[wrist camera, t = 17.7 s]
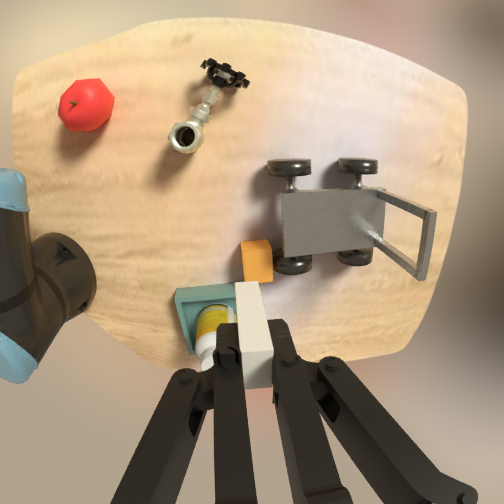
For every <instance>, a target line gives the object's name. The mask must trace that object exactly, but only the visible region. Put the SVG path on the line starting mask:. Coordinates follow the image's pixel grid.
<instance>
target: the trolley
mask: <svg viewBox="0 0 504 504" xmlns="http://www.w3.org/2000/svg"><path fill="white" fill-rule="evenodd" d="M267 165H268V175H269V176H278V177H286V187H287V188H285V191H284V192H280V197H281V219H282V246H283V248H281V249H279V250H276V251H275V252H274V253H273V268H274V270H275V271H277V272H278V273H281V274H285V275H299V274H303V273H306V272H308V271H309V270H310V269H311V267H312V254H320V253H329V252H337V259H338V260H339V261H340V262H341V263H343V264H346V265H350V266H364V265H368V264H370V263H371V262H372V256H373V247H377V248H379V249H380V250H381V251H382V252H384V253H385V254H386V255H387V256H389V257H390V258H391V259H393V260H394V261H395V262H396V263H397V264H399V265H400V266H401V267H402V268H404V269H405V270H406V271H407V272H408V273H410V274H411V275H412V276H413V277H414V278H416V279H417V280H418V281H424V280H426V276H427V271H428V267H429V262H430V256H431V251H432V245H433V239H434V232H435V224H436V216H437V212H436V211H434V210H431V209H429V208H427V207H424V206H422V205H420V204H417V203H415V202H413V201H410V200H408V199H405V198H403V197H400V196H398V195H395V194H393V193H390V192H387V191H386V189H385V188H382V187H371V188H370V187H367V186H364V185H362V174H377V173H378V160H375V159H366V158H339V172H343V173H351V174H355V185H354V188H338V189H316V190H298V189H297V188H294V176H305V175H310V174H311V160H310V159H276V160H269V161H267ZM385 201H386V202H388V203H390V204H392V205H395V206H397V207H399V208H401V209H403V210H405V211H408V212H410V213H412V214H414V215H416V216H418V217H420V218H422V219H423V226H422V234H421V241H420V248H419V254H418V260H417V263H415V262H414V261H413V260H411V259H410V258H408V257H407V256H406V255H404V254H403V253H402V252H400V251H399V250H398V249H396V248H395V247H393V246H392V245H391V244H389V243H388V242H386V241H385V240H383V230H384V217H385Z"/></svg>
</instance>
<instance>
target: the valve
mask: <svg viewBox="0 0 504 504" xmlns="http://www.w3.org/2000/svg"><path fill="white" fill-rule="evenodd" d="M200 67H201V68H203V69H205V68H206V67H209V69H208V70H207V77H208V79H209V80H211V82H210V84H211V85H212V88H211V90H210V91H206V92H205V94H204V95H203V97H202V99H201V100H202V101H203V102H202V103H201V104H198V105H197V107H196V108H195V107H191V108H190V110H189V111H188V114H189V117H188V118H187V120H186V121H183V122H181V123H175V125H174V126H173V128H172V130H171V132H170V134H169V136H168V139H169V141H170V143H171V144H172V146H173V147H174V149H175V150H176V151H179V152H181V153H192V152H195V151H197V150H198V149H199V148H200V147H201V146H202V144H203V142H204V137H205V135H204V131H203V127H204V125H205V123H209V122H210V120H211V118H212V116H211V115H209V112H210V109H209V108H210V106H211V105H212V106H213V105H214V104H215V102H216V100H217V99H218V96H217V93H218V92H219V90H224V89H225V88H232V87H236V88H239V89H240V88H241V86H242V85H243V86H242V87H243V88H247V87H248V85H249V84H250V81H249V80H247V79H245V77H246V75H245V74H244V73H242V72H235V71H234V70H232V69H231V66H230V65H229V64H227V63H223V64H222V65H221V64H218V63H217V61H215V60H214V59H211V58H209V59H208V60H207V61H206V60H204V61H203V63H202V64H201V66H200ZM219 70H220V71H219ZM214 74H216V75H215V76H214ZM231 76H232V77H231ZM229 81H230V82H231V83H229ZM187 129H193V131H194V133H195V139H194V141H193V143H192V144H191V145H189V146H186V145H184V144H183V142H182V134H183V132H184V131H185V130H187Z"/></svg>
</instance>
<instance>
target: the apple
mask: <svg viewBox="0 0 504 504" xmlns="http://www.w3.org/2000/svg"><path fill="white" fill-rule="evenodd" d="M113 103H114V96H113V95H112V94H111V92H110V91H109V90H108V88H107V87H106V86H105V84H104V83H103V82H102V81H101V80H100V79H84V80H76V81H75V82H74V83H73V84H72V85H71V86H70V87H69V88H68V89H67V90H66V91H65V93H64V94H63V95H62V96H61V99H60V104H59V110H58V116H59V118H60V119H61V121H62V122H63V124H64V125H65V127H66V128H67V130H69V131H72V132H90V131H92V130H95V129H97V128H99V127H100V126H101V125H102V124H103V123H104V122H105V121H106V120H107V119H108V118H109V117H110V116H111V114H112V109H113Z"/></svg>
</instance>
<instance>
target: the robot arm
mask: <svg viewBox="0 0 504 504" xmlns="http://www.w3.org/2000/svg"><path fill="white" fill-rule="evenodd" d="M29 211H30V208H29V206H28V200H27V187H26V180H25V177H24V175H23V174H22V173H21V172H20V171H18V170H15V169H4V168H0V377H1V378H3V379H5V380H7V381H9V382H12V383H16V384H20V383H24V382H25V381H27V380H28V379H29V377H30V376H31V374H32V373H33V371H34V370H35V369H37V368H38V365H39V363H40V361H41V359H42V358H43V356H44V354H45V353H46V351H47V349H48V347H49V346H50V344H51V343H52V341H53V339H54V338H55V336H56V335H57V333H58V332H59V330H60V328H61V327H62V326H63V324H64V323H65V322H67V321H68V320H70V319H72V318H74V317H75V316H77V315H79V314H81V313H82V312H84V311H85V310H86V309H87V307H88V306H89V305H90V303H91V302H92V300H93V298H94V296H95V293H96V275H95V271H94V268H93V266H92V263H91V261H90V259H89V258H88V256H87V254H86V253H85V252H84V250H83V249H82V248H81V247H80V246H79V245H78V244H77V243H76V242H75V241H74V240H72V239H71V238H69V237H67V236H65V235H63V234H60V233H47V234H44V235H42V236H41V237H39V238H38V239H36V240H35V241H34V242H33V243H32V244H31V237H30V226H29ZM235 294H236V312H237V323H220V324H219V326H218V327H217V329H216V349H215V350H214V351H213V354H212V356H213V363H214V365H213V366H212V367H211V368H209V369H208V370H205V371H202V372H199V373H198V372H196V371H195V370H193V369H190V368H184V369H180V370H178V371H176V372H175V373H174V374H173V375H172V377H171V379H170V381H169V383H168V385H167V387H166V389H165V391H164V393H163V395H162V397H161V399H160V401H159V403H158V405H157V407H156V410H155V411H154V414H153V415H152V418H151V419H150V421H149V424H148V426H147V428H146V430H145V432H144V434H143V436H142V438H141V440H140V442H139V444H138V446H137V448H136V450H135V453H134V455H133V457H132V459H131V461H130V463H129V465H128V467H127V469H126V471H125V474H124V475H123V478H122V480H121V482H120V484H119V486H118V488H117V490H116V492H115V495H114V497H113V499H112V501H111V503H110V504H175V503H176V500H177V497H178V494H179V491H180V489H181V485H182V483H183V480H184V477H185V474H186V471H187V468H188V465H189V463H190V460H191V456H192V454H193V450H194V448H195V445H196V442H197V439H198V436H199V433H200V430H201V427H202V424H203V421H204V419H205V415H206V413H207V410H210V409H214V470H215V504H258V503H257V496H256V488H255V480H254V472H253V463H252V455H251V447H250V437H249V427H248V418H247V409H246V399H245V389H255V388H266V387H272V384H273V403H275V408H276V414H277V419H278V424H279V430H280V435H281V440H282V446H283V451H284V456H285V461H286V467H287V472H288V476H289V482H290V487H291V492H292V498H293V502H294V504H353V502H352V498H351V495H350V493H349V491H348V490H347V489H346V488H345V487H343V486H342V484H341V481H340V478H339V474H338V471H337V468H336V465H335V461H334V458H333V455H332V452H331V448H330V445H329V442H328V439H327V436H326V433H325V429H324V426H323V423H322V420H321V417H320V414H321V415H322V417H323V418H324V420H325V421H326V423H327V424H328V426H329V427H330V429H331V430H332V432H333V433H334V434H335V436H336V437H337V439H338V440H339V442H340V443H341V445H342V446H343V448H344V449H345V450H346V452H347V453H348V455H349V456H350V458H351V459H352V460H353V462H354V463H355V465H356V466H357V467H358V469H359V470H360V472H361V473H362V474H363V476H364V477H365V479H366V480H367V481H368V483H369V484H370V485H371V487H372V488H373V489H374V491H375V492H376V494H377V495H378V496H379V498H380V499H381V500H382V502H383V503H384V504H476V503H477V500H478V493H477V491H476V489H474V488H473V487H471V486H469V485H467V484H465V483H462V482H460V481H458V480H456V479H454V478H452V477H449V476H447V475H445V474H443V473H441V472H440V471H439V470H438V469H437V468H436V467H435V465H434V464H433V463H432V462H431V461H430V460H429V459H428V458H427V457H426V455H425V454H424V453H423V452H422V451H421V450H420V448H419V447H418V446H417V445H416V444H415V443H414V442H413V440H412V439H411V438H410V437H409V436H408V435H407V434H406V432H405V431H404V430H403V429H402V428H401V427H400V426H399V425H398V423H397V422H396V421H395V420H394V419H393V418H392V416H391V415H390V414H389V413H388V412H387V411H386V410H385V408H384V407H383V406H382V405H381V404H380V403H379V402H378V400H377V399H376V398H375V397H374V396H373V395H372V394H371V392H370V391H369V390H368V389H367V388H366V387H365V386H364V384H363V383H362V382H361V381H360V380H359V379H358V377H357V376H356V375H355V374H354V373H353V372H352V371H351V369H350V368H349V367H348V366H347V365H346V364H345V363H344V361H342V360H341V359H340V358H337V357H333V356H329V357H325V358H323V359H321V360H320V362H319V363H315V362H308V361H305V360H303V359H301V357H300V356H299V355H297V353H296V350H295V347H294V343H293V340H292V337H291V334H290V331H289V328H288V325H287V323H286V322H285V321H284V320H283V319H274V320H267V318H266V314H265V310H264V305H263V301H262V296H261V292H260V288H259V283H258V281H252V282H235ZM319 412H320V414H319Z"/></svg>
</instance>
